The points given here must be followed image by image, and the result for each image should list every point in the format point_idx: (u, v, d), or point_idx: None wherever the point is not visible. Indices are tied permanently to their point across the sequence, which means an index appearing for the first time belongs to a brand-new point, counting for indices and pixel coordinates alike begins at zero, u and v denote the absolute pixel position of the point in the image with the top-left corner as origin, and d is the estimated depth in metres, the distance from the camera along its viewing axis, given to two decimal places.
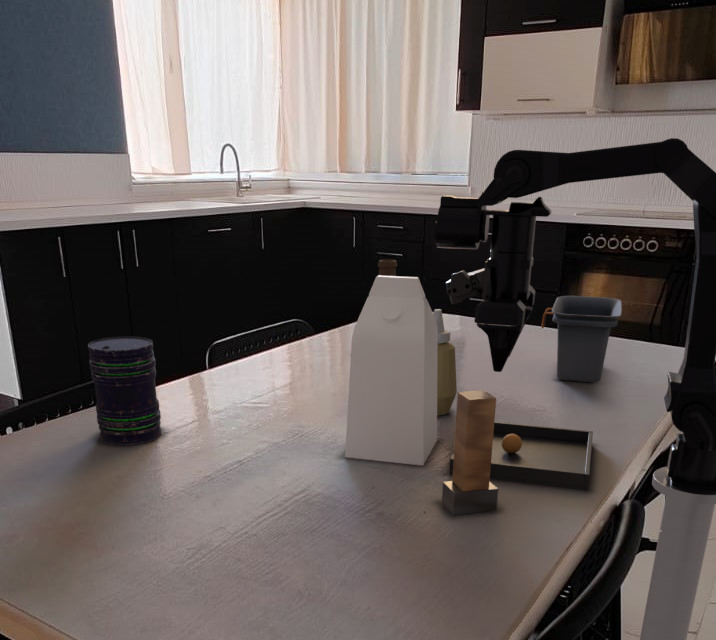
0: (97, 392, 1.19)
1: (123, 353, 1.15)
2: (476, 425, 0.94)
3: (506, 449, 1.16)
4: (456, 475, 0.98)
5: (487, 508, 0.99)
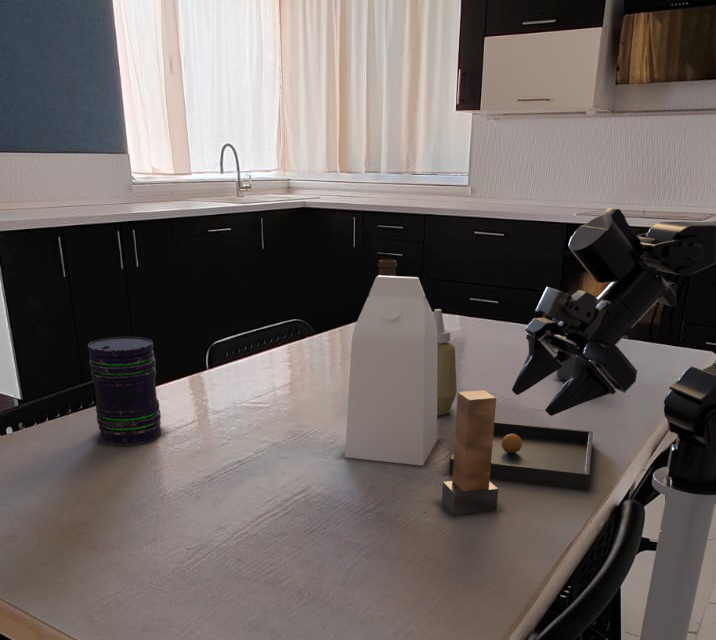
0: (97, 392, 1.19)
1: (123, 353, 1.15)
2: (476, 425, 0.94)
3: (506, 449, 1.16)
4: (456, 475, 0.98)
5: (487, 508, 0.99)
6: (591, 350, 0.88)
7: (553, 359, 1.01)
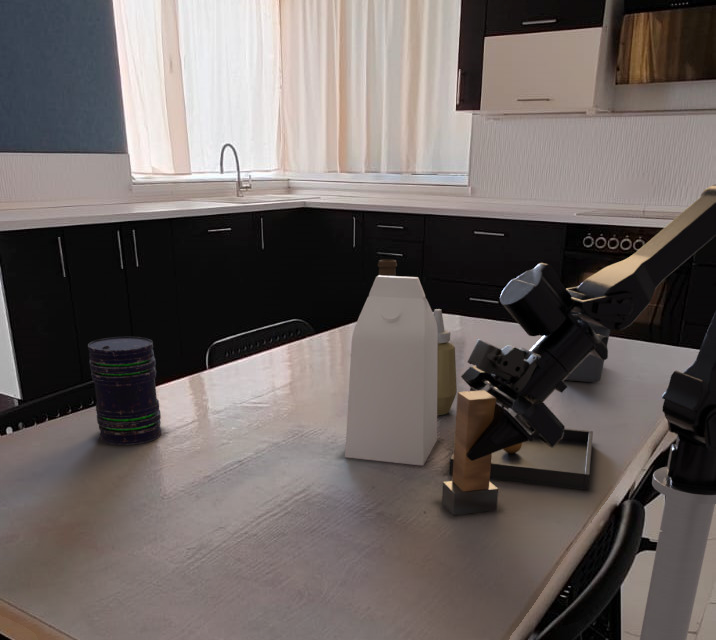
0: (97, 392, 1.19)
1: (123, 353, 1.15)
2: (476, 425, 0.94)
3: (506, 449, 1.16)
4: (456, 475, 0.98)
5: (487, 508, 0.99)
6: (519, 405, 0.88)
7: None
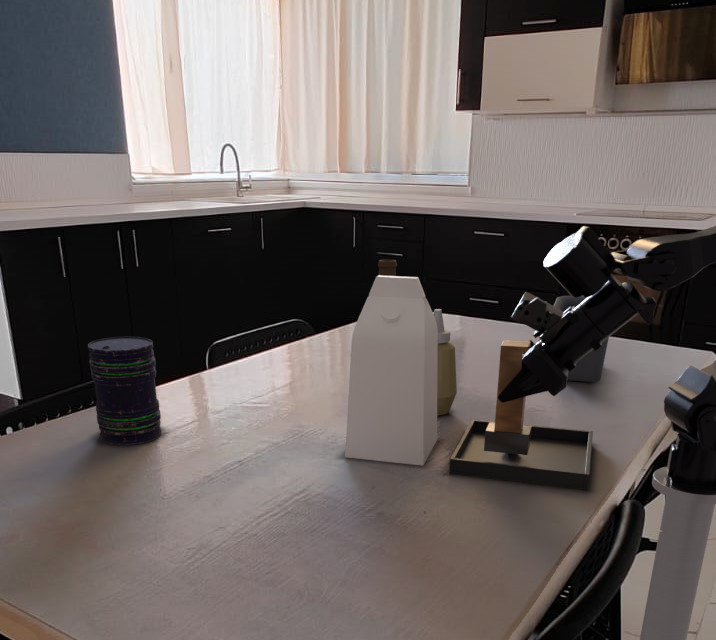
0: (97, 392, 1.19)
1: (123, 353, 1.15)
2: (507, 370, 1.03)
3: None
4: None
5: (518, 452, 1.07)
6: (528, 352, 0.96)
7: None
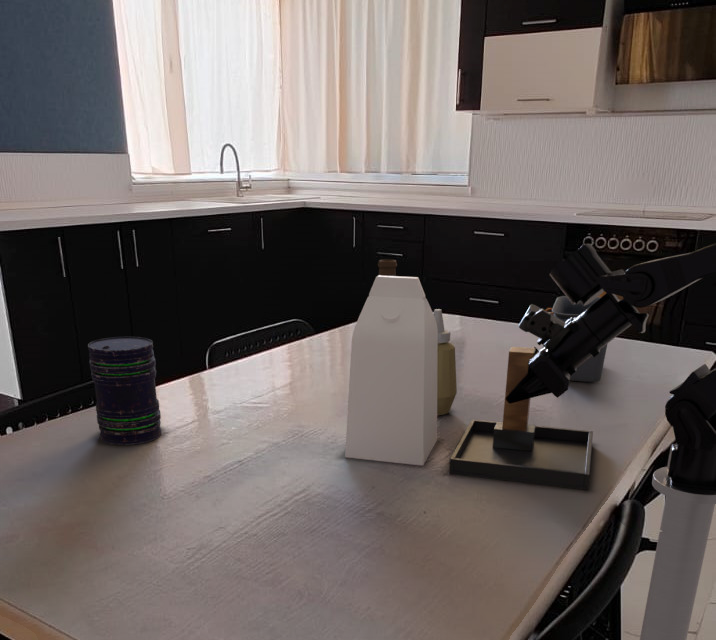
0: (97, 392, 1.19)
1: (123, 353, 1.15)
2: (515, 374, 1.14)
3: None
4: None
5: (523, 448, 1.18)
6: (534, 358, 1.07)
7: None
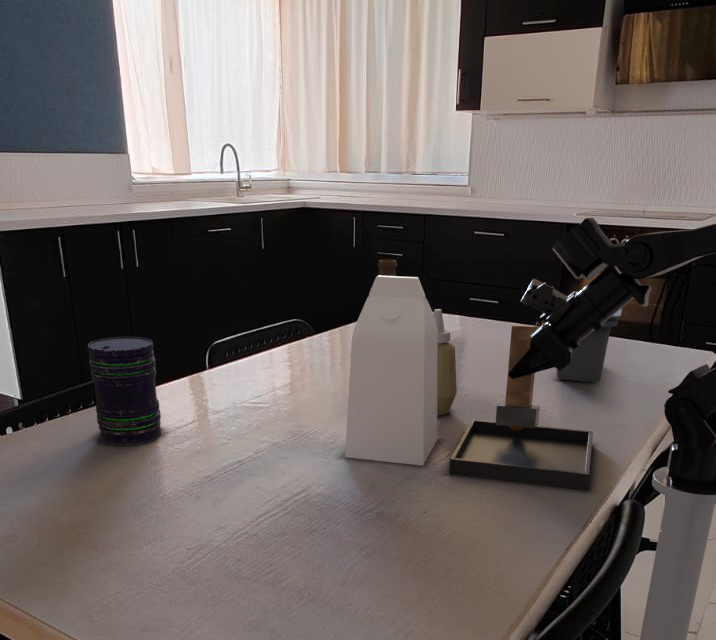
0: (97, 392, 1.19)
1: (123, 353, 1.15)
2: (517, 348, 1.15)
3: (511, 428, 1.23)
4: None
5: (526, 425, 1.17)
6: (536, 331, 1.07)
7: None
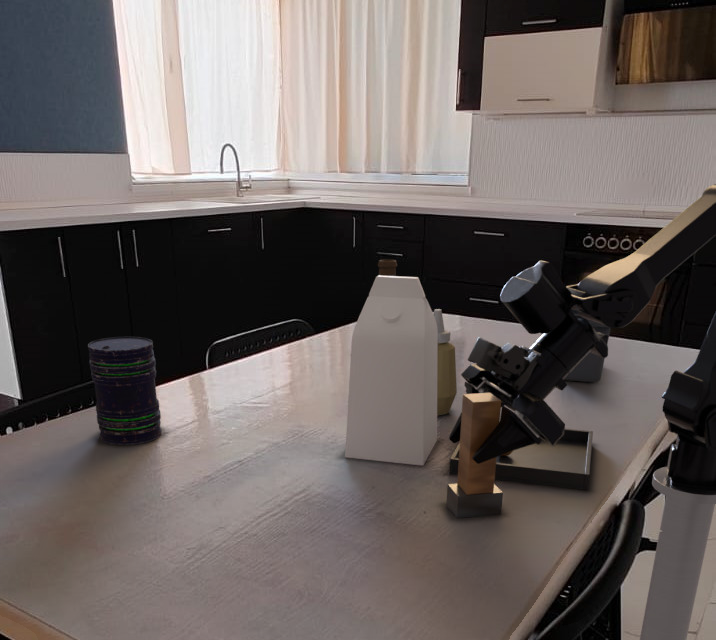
0: (97, 392, 1.19)
1: (123, 353, 1.15)
2: (480, 428, 0.93)
3: None
4: (460, 478, 0.97)
5: (492, 512, 0.98)
6: (519, 403, 0.88)
7: None
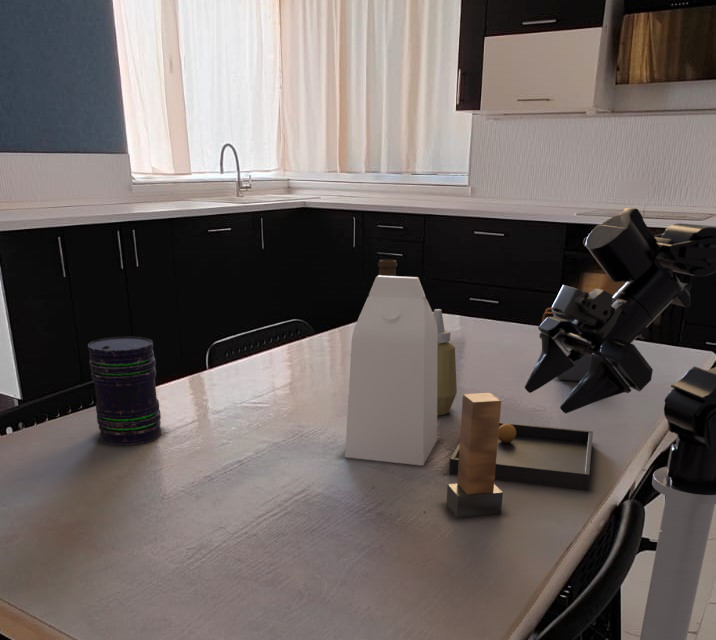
0: (97, 392, 1.19)
1: (123, 353, 1.15)
2: (480, 428, 0.93)
3: None
4: (460, 478, 0.97)
5: (492, 512, 0.98)
6: (608, 348, 0.89)
7: (566, 358, 1.02)
